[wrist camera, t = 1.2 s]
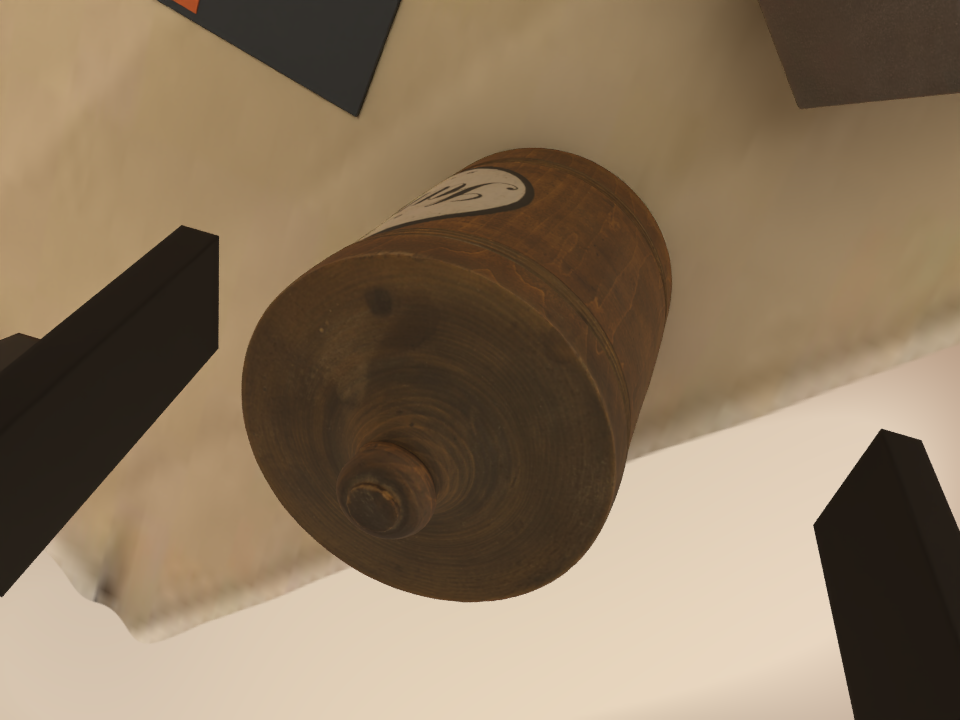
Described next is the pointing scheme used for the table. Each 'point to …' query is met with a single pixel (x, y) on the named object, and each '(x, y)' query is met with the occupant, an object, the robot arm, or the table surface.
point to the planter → (866, 48)
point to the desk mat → (305, 39)
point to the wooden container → (465, 377)
